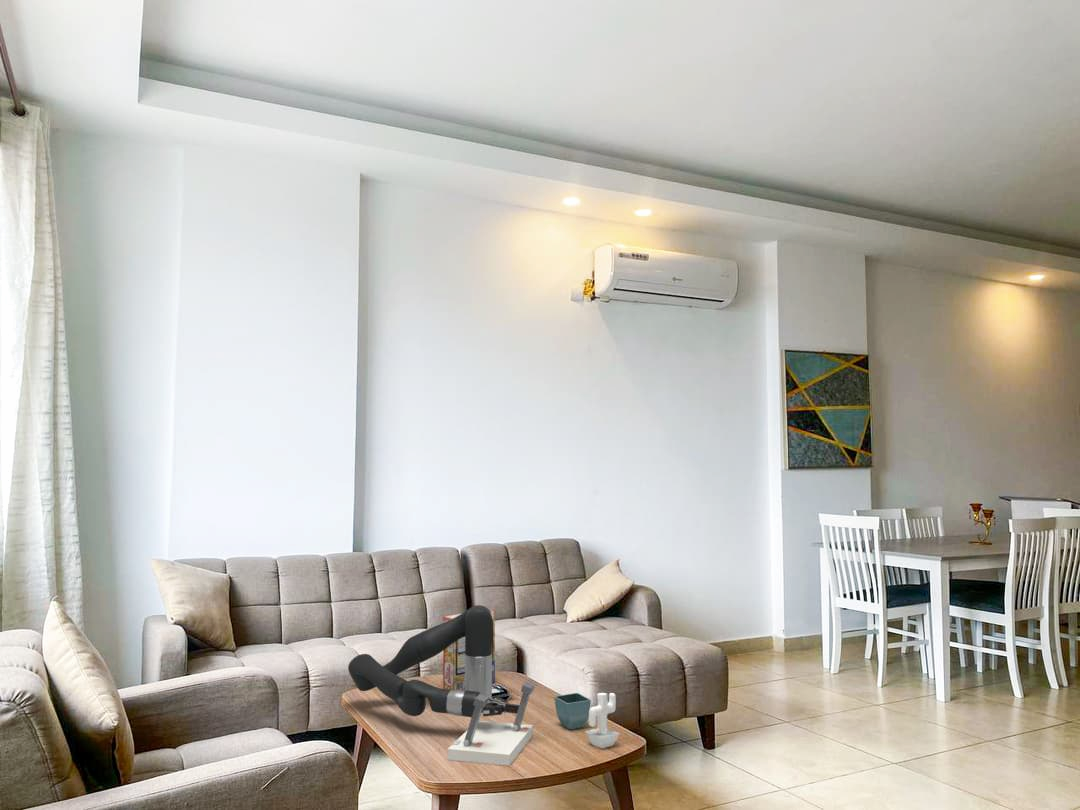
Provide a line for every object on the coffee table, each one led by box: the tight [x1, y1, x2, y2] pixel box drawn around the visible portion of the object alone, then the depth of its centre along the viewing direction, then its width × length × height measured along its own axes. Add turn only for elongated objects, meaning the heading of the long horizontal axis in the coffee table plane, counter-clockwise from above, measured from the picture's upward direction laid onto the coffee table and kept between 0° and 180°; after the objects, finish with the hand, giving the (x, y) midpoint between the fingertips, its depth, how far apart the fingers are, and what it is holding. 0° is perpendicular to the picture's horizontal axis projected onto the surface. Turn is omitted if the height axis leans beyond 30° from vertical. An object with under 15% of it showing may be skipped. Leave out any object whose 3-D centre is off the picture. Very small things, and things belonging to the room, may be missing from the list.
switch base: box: [447, 720, 534, 767], centre depth 243 cm, size 26×18×3 cm
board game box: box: [442, 609, 496, 690], centre depth 306 cm, size 20×6×27 cm, turn 135°
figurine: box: [584, 692, 620, 749], centre depth 245 cm, size 7×9×15 cm
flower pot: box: [553, 692, 592, 730], centre depth 261 cm, size 9×9×9 cm
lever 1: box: [463, 694, 489, 746], centre depth 236 cm, size 4×3×14 cm, turn 166°
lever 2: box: [513, 680, 536, 731], centre depth 249 cm, size 4×3×14 cm, turn 166°
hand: (518, 709), depth 249 cm, fingers closed
